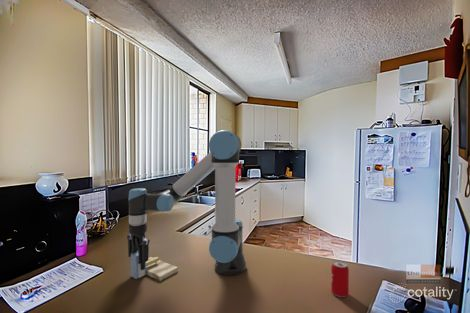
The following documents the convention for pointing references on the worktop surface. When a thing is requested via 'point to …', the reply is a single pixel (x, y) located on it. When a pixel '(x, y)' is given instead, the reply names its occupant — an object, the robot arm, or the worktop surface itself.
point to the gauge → (135, 264)
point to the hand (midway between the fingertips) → (138, 274)
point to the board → (160, 270)
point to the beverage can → (339, 279)
